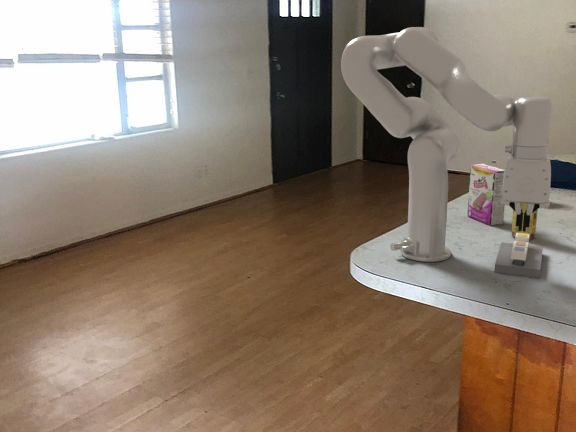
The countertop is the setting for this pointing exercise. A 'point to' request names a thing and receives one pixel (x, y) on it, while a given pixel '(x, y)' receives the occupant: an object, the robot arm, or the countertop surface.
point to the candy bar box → (486, 194)
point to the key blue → (518, 255)
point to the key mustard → (522, 237)
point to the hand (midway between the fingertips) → (522, 229)
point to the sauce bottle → (529, 230)
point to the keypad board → (527, 269)
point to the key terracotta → (520, 245)
